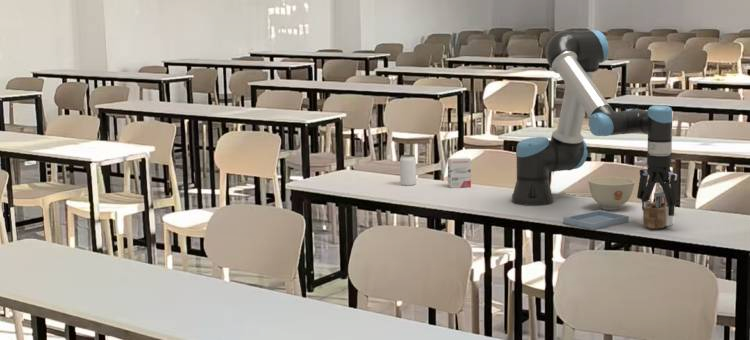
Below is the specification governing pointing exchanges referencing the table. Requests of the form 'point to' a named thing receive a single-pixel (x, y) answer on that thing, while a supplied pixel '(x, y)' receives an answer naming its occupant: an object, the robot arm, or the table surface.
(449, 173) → the ink box
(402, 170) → the can
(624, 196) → the bowl
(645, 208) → the brown wooden hollow block
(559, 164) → the robot arm
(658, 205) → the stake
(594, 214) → the tray
